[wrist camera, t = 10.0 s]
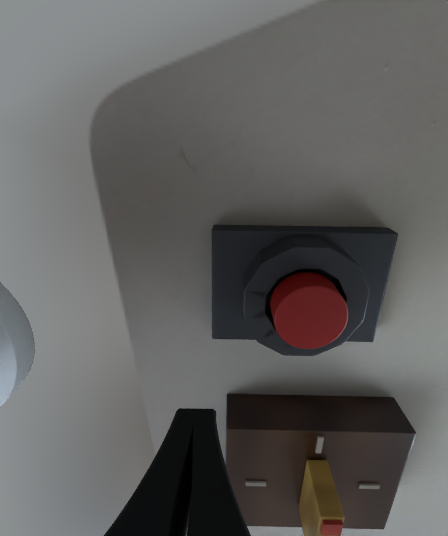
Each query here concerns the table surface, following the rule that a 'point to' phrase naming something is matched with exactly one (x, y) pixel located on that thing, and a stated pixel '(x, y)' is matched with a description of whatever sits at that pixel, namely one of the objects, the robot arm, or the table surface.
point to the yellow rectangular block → (320, 501)
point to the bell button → (308, 310)
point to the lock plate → (315, 454)
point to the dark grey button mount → (288, 263)
